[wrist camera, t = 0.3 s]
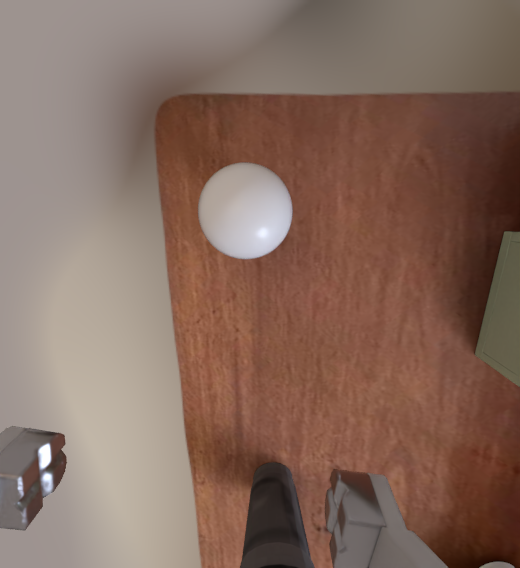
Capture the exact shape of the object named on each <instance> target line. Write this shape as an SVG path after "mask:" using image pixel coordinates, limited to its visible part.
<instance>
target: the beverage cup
mask: <svg viewBox="0 0 520 568" xmlns="http://www.w3.org/2000/svg"><path fill="white" fill-rule="evenodd" d="M240 568H315V567H314V564H313V562H312V560H311V557H310V552H309V548H308V543H307V538H306V534H305V529H304V525H303V520H302V516H301V511H300V506H299V502H298V497H297V493H296V488H295V485H294V482H293V479H292V474H291V472H290V470H289V469H288V468H287V467H286V466H284V465H282V464H280V463H275V462H273V463H266V464H264V465H262V466H260V467H259V468H258V469H257V470H256V471H255V473H254V477H253V484H252V488H251V495H250V502H249V510H248V518H247V525H246V533H245V541H244V549H243V556H242V562H241V566H240Z"/></svg>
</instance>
